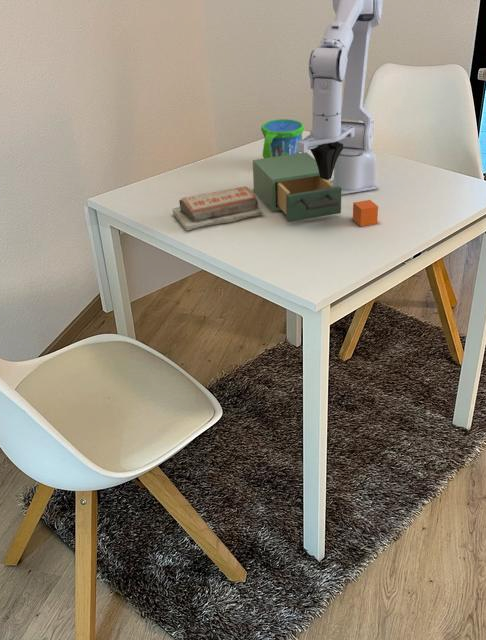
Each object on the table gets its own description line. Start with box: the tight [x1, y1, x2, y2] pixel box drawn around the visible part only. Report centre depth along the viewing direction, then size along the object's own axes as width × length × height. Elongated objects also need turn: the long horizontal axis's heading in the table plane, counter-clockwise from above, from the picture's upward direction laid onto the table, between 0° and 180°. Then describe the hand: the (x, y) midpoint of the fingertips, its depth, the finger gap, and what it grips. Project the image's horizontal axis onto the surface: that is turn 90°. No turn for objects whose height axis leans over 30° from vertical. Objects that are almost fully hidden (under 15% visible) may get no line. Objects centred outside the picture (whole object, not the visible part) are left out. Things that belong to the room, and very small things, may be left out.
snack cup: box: [260, 118, 305, 159], centre depth 186 cm, size 16×10×10 cm
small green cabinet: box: [252, 151, 330, 213], centre depth 169 cm, size 14×14×8 cm
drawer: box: [275, 176, 342, 223], centre depth 160 cm, size 17×12×6 cm
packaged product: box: [171, 186, 263, 231], centre depth 161 cm, size 18×5×10 cm
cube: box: [352, 199, 379, 227], centre depth 157 cm, size 4×4×4 cm
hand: (325, 178), depth 152 cm, fingers closed
